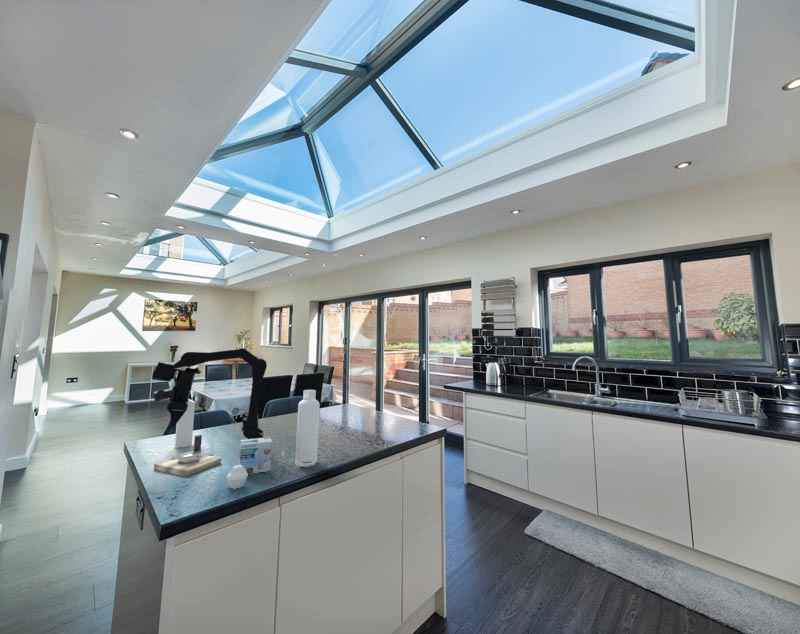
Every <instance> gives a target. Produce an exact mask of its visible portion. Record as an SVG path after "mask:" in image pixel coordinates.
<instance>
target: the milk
mask: <svg viewBox="0 0 800 634" xmlns="http://www.w3.org/2000/svg"><path fill="white" fill-rule="evenodd" d="M195 408H196V402H195V401H194V400H192V399H190V398H189V400H188V407H187V411H186V412H185V413H184V414H183V416H182V417H181V418H180V420H179V421H178V422H177V424H176V425H175V428H176V429H175V439H174V447H175V449H180V448H179V447H182V448H189V447H193V446H192V445H193V433H194V420H195ZM188 446H189V447H188Z"/></svg>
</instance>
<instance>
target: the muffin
mask: <svg viewBox="0 0 800 634" xmlns="http://www.w3.org/2000/svg"><path fill="white" fill-rule="evenodd" d="M247 478H248V473H247V472H246V471H245V469H244V467H243V466H242V465H239V464H236V465H234V466H232V467H231V470H230V471H229V472H228V473H227V475H226V478H225V479H226V480H227V484H228V486H229V488H230V489H231V488H238V487H241V486H242V487H243V486H244V484H245V482H246V480H247ZM242 487H241V488H242Z"/></svg>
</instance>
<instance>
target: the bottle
mask: <svg viewBox="0 0 800 634" xmlns="http://www.w3.org/2000/svg"><path fill="white" fill-rule="evenodd" d="M316 394H317V390H315V389H304V390H303V395H302V396H303V397H302V400H300V401H299V402H298V404H297V405H298V407H297V424H296V425H297V426H296V442H295V443H296V444H295V445H296V446H295V460H294V461H295V464H296V465H299V466H306V465H311V464H314V463H315V462H317V463H318V459H317V458H318V450H319V448H318V444H319V427H320V425H319V423H320V406H321V405H320V402H319V401H318V400H317V399H316ZM295 464H294V465H295Z"/></svg>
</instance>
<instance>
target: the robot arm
mask: <svg viewBox="0 0 800 634" xmlns="http://www.w3.org/2000/svg"><path fill="white" fill-rule="evenodd" d="M239 358H240V359H242V360H243V361H244V362H246V363H247V364H248V365H250V366H251V373H252V385H251V393H250V399H249V407H248V413H247V417H243V418H242V427H241V432H242V435H243V436H244V438H246V439H255V438H264V431H263V430H262V429H261V427H260V426H259V425H260V424H259V414H258V413H259V406H260V399H261V392H262V385H263V380H264V376H265V373H266V370H267V367H268V363H267V361H266V360H265V359H264V358H261V357H260V358H259V357H257V356H256V355H255V354H253V353H252V352H250V351H249V350H248V349H246V348H245V347H242V348H238V349H229V350H219V351H211V352H205V351H187V352H184V353H183V354H182V355H181V356H180V359H179V360H178V361H177V362H175V363H174V364H172V363H166V362H163V361H158V363H157V365H156V366H155V369H154V370H153V371H152V376H151V379H152V381H159V382H167V383H171V381H172V380H175V382H174V385H173V386H172V388H166V389H161V390H160V389H158V390H156V391H154V392H153V399H154V402H159V401H163V400H168V399H169V401H168V403H167V407H166V411H167V412H168V413H169V415H170V419H169V421H170V422H169V428H171V429H173V428H175V427H176V425H177V422H178V421H179V420H180V418H181V417H182V416H183V414H184V413H185V412H186V411H187V407H188V400H189V399H190V394H191V391H192V389H193V388H192V386H193V382H194V380H195V376H196V375H200V374H202V370H200V368H199V366H198V365H202V364H205V363H209V362H215V361H223V360H224V361H225V360H231V359H239ZM196 366H198V367H196ZM184 367H185V369H182V368H184ZM191 367H192V368H191ZM193 367H195V368H193Z"/></svg>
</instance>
